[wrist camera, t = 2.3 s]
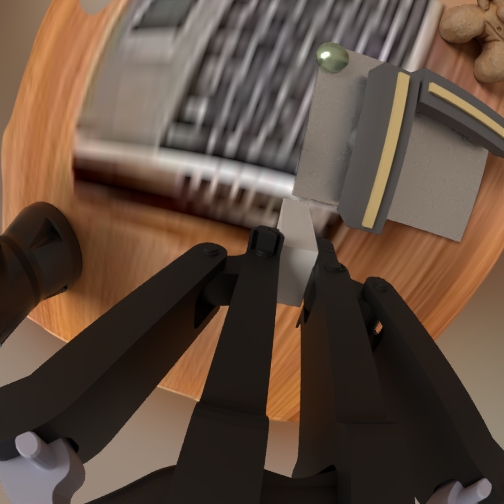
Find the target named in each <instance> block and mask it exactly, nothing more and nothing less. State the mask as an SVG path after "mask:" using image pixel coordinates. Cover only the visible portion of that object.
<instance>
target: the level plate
mask: <svg viewBox="0 0 504 504" xmlns="http://www.w3.org/2000/svg"><path fill="white" fill-rule="evenodd" d="M316 61H317V63H318V70H317V75H316V80H315V85H314V90H313V96H312V101H311V106H310V111H309V116H308V120H307V125H306V130H305V135H304V140H303V144H302V149H301V154H300V158H299V163H298V167H297V172H296V176H295V181H294V185H293V190H292V195H295V196H299V197H304V198H308V199H312V200H317V201H321V202H325V203H329V204H333V205H337V206H338V204H339V200H340V197H341V193H342V189H343V186H344V182H345V178H346V174H347V171H348V167H349V163H350V159H351V155H352V150H353V146H354V139H355V136H356V133H357V129H358V124H359V119H360V115H361V110H362V105H363V100H364V95H365V89H366V84H367V78H368V72H369V71H370V70H371V69H373V68H375V67H377V66H379V65H380V64H382V63H384V62H382V61H379V60H377V59H374V58H371V57H368V56H365V55H362V54H359V53H356V52H353V51H350V50H347V49H345V48H344V47H342V46H341V45H339V44H337V43H332V42H329V43H323V44H322V45H321V46H320V47H319V48H318V50H317V53H316ZM487 156H488V150H487V149H485V148H484V147H482V146H480V145H479V144H477V143H476V142H474V141H472V140H471V139H469V138H468V137H466V136H464V135H462V134H461V133H459V132H457V131H455V130H454V129H452V128H450V127H448V126H446V125H444V124H442V123H441V122H439V121H437V120H435V119H433V118H431V117H429V116H427V115H424V114H422V113H420V112H418V111H416V110H415V114H414V119H413V124H412V129H411V133H410V138H409V142H408V146H407V150H406V154H405V158H404V162H403V166H402V170H401V173H400V177H399V180H398V184H397V187H396V190H395V194H394V197H393V200H392V203H391V206H390V209H389V212H388V215H387V218H386V219H389V220H392V221H396V222H399V223H402V224H406V225H409V226H412V227H415V228H419V229H422V230H425V231H428V232H431V233H434V234H437V235H440V236H443V237H446V238H449V239H452V240H455V241H458V242H460V241H461V238H462V236H463V233H464V231H465V228H466V226H467V223H468V220H469V217H470V215H471V212H472V209H473V206H474V203H475V200H476V197H477V193H478V190H479V187H480V183H481V180H482V176H483V172H484V168H485V164H486V160H487Z"/></svg>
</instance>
